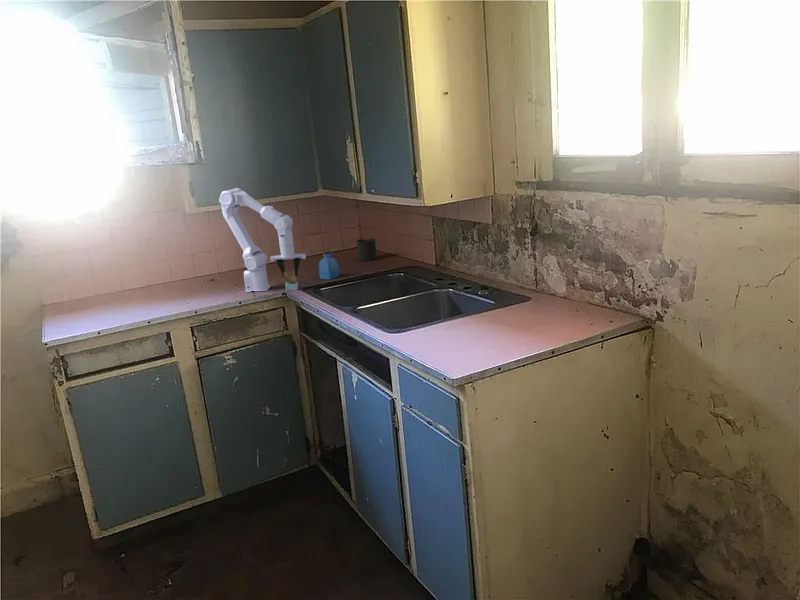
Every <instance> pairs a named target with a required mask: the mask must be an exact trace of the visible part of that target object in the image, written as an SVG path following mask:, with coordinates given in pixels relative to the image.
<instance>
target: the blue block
mask: <svg viewBox="0 0 800 600" xmlns="http://www.w3.org/2000/svg"><path fill="white" fill-rule="evenodd" d="M284 285H285V286H284V287H285V292H288V291H287V290H294V291H298V290H299V282H298V280H297V281H296V282H286V283H284ZM297 289H298V290H297Z"/></svg>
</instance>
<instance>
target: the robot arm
mask: <svg viewBox="0 0 800 600" xmlns="http://www.w3.org/2000/svg"><path fill="white" fill-rule="evenodd" d="M218 202H219V204H220V205H221V212H222V216H223V218H224V220H225V221H226V223H227V224H228V226H229V228H230V230H231V232H232V233H233V236H234V237H235V238H236V240H237V242H238V244H239V246H240V248H241V249H242V251H243V253H242V259H243V260H244V266H245V267H246V269H247V270H246V269H245V270H244V271H243V281H244V287H245V293H252V292H251V291H255V292H263V291H265V292H266V291H269V290H270V288H271V285H270V284H269V281H268V275H267V267H266V266H267V263H268V256H267V255H266V253H265V252H263V251H262V249H261V248H260V247H258V246H257V245H256V244H255V243H254V242H253V239H252V237H251V235H250V234H249V232H248V231H247V229H246V227H245V225H244V223H243V222H242V220H241V218H240V216H239V215H238V210H239V207H240V206H241V205H242V206H243V205H244V206H246V207H248V208H250V209H252V210H253V211H255V212H257V213H259V214H260V217H261V218H262V219H263V220H265V221H267V222H268V223H269V224H271V225H273V227H274V228H275V229H276V232H277V235H278V242H279V244H278V245H279V251H280V254H278V255H271V256H270V257H269V259H270V262H275V261H276V262H275V263H276V265H277V266H278V269H279V270H280V272H281V274H282V277H283V278H284V271H285V270H286V268H285V261H287V260H288V261H289V260H290V261H291V260H293V261H292V262H293V267H294V269H295V276H297V277H298V276H299V274H298V272H299V265H300V262H301V260H303V259H306V258H307V257H306V256H307V255H306V253H303V252H302V253H295V248H294V238H293V232H292V231H293V230H292V227H293V226H294V225H293V224H294V220H293V218H292V217H291V216H290V215H289V214H283V212H279V211H278V210H276V209H275V207H274V206H272V205H266V206H264V205H263V204H262V203H260V202H259V201H258V200H256V199H254V198H253V197H252V196H251V195H249V194H248V193H247V192H246V191H244V190H242V189H241V188H239V187H238V188H237V187H235V188H231V189H229V190H223V191H222V192H221V193H220V196H219V199H218Z"/></svg>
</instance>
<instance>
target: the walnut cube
mask: <svg viewBox="0 0 800 600" xmlns="http://www.w3.org/2000/svg"><path fill="white" fill-rule="evenodd" d="M283 278H284V282H285V283H284V284H286V282H296V281H298V276H295V268H294V269H285V271H284V277H283Z"/></svg>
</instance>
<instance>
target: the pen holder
mask: <svg viewBox="0 0 800 600" xmlns="http://www.w3.org/2000/svg"><path fill="white" fill-rule="evenodd" d="M376 243H377V242H376V238H373V237H372V238H369V239H364V238H360V239H356V247H357V255H358V260H359V261H360V262H369V261H368V260H372V261H374V260H373V259H375V260H376V259H377V247H376V246H377V244H376Z"/></svg>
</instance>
